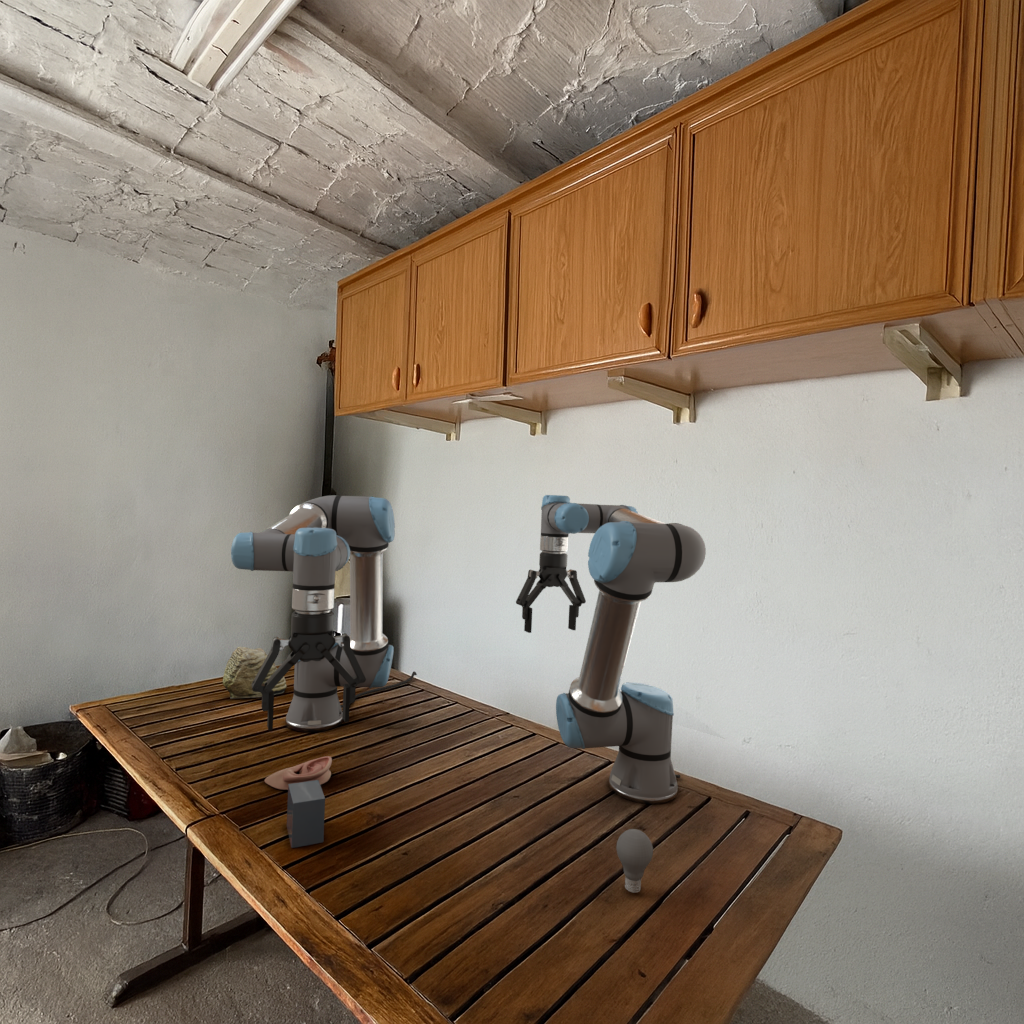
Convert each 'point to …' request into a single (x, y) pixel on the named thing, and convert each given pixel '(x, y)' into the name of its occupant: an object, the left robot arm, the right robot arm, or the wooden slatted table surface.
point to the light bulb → (634, 857)
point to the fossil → (247, 673)
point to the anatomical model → (301, 773)
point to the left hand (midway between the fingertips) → (308, 723)
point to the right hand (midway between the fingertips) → (550, 630)
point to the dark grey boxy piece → (305, 813)
